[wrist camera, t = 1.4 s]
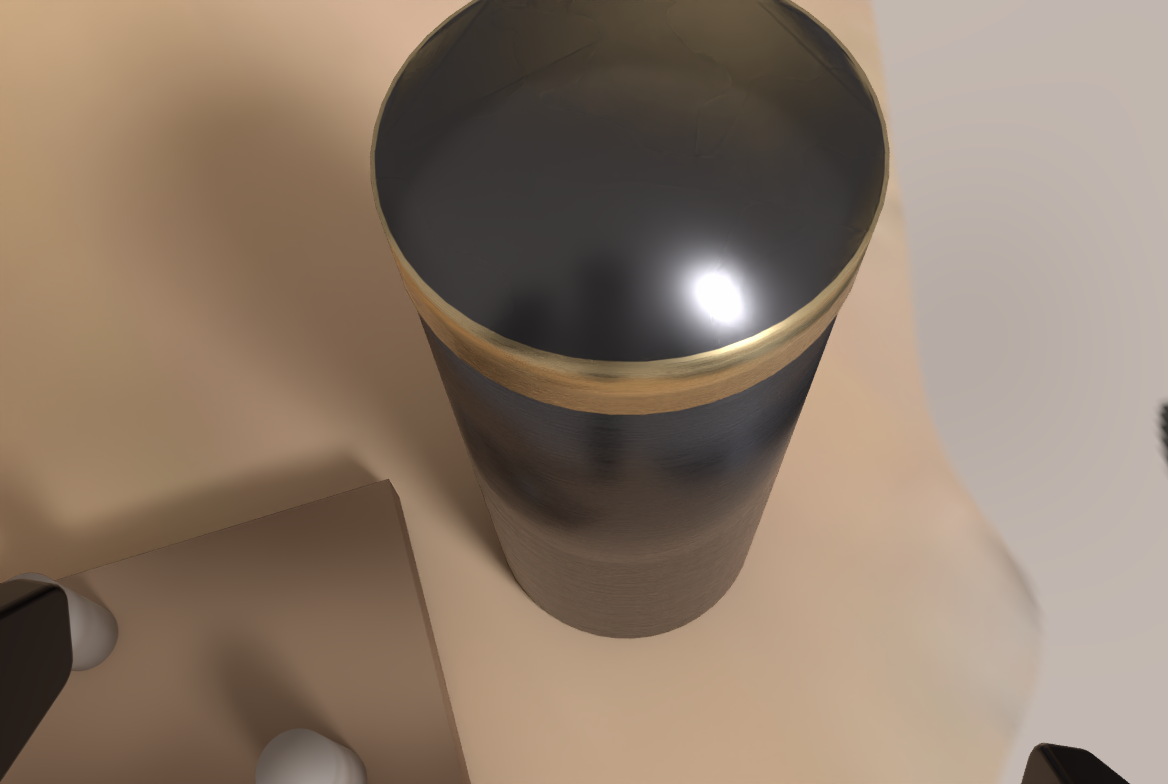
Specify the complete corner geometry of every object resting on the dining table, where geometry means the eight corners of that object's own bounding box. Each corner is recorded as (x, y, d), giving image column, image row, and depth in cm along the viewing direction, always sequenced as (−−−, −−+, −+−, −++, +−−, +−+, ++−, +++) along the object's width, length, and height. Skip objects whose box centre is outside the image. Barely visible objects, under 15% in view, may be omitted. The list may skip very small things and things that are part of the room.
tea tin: (796, 591, 22) (985, 272, 11) (537, 677, 22) (440, 437, 10) (700, 365, 25) (768, -88, 13) (467, 435, 24) (325, 25, 13)
